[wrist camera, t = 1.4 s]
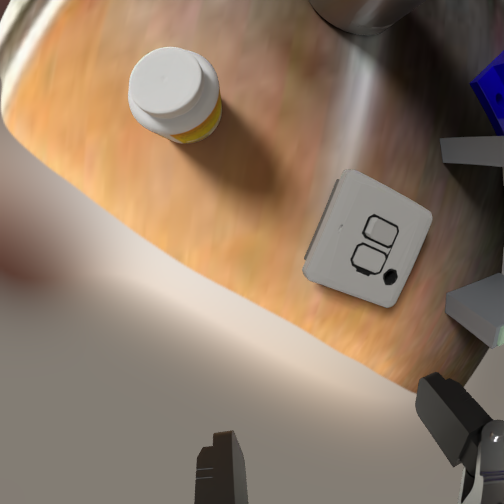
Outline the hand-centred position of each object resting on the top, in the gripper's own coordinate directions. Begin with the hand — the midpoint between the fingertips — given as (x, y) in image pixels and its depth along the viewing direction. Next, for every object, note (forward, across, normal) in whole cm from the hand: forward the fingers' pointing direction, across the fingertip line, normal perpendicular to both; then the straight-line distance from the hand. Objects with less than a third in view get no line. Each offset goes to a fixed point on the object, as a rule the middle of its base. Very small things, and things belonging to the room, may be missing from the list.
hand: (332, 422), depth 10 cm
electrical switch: (+18, -12, 0) cm, 22 cm away
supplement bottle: (+18, +4, -15) cm, 24 cm away
